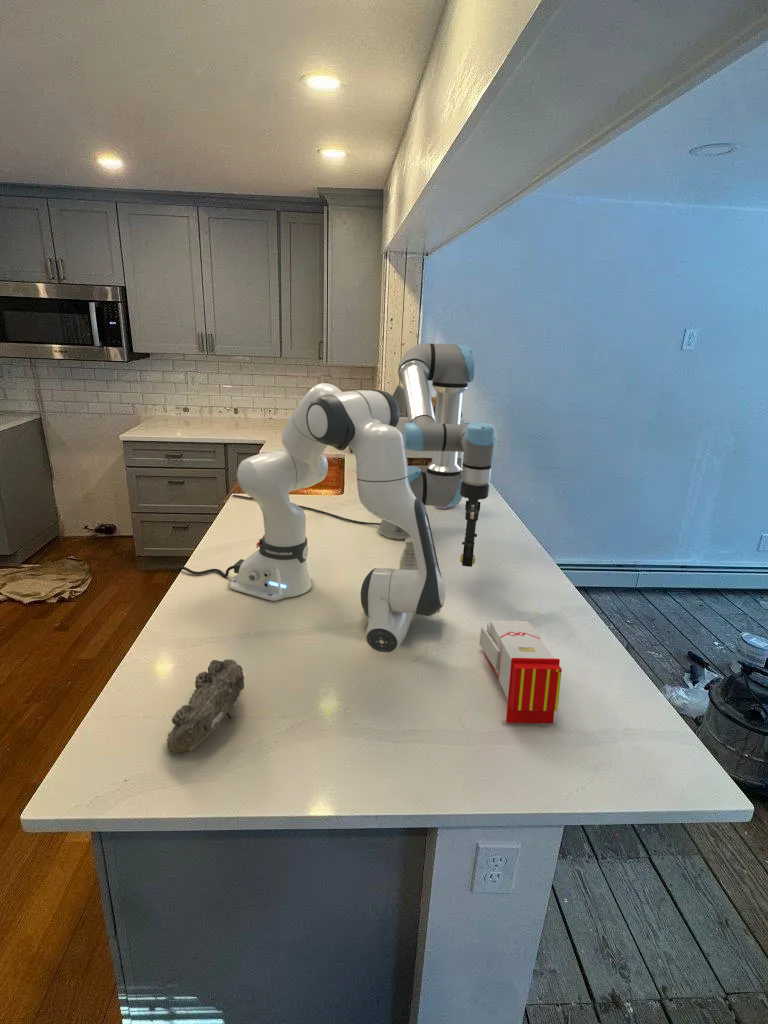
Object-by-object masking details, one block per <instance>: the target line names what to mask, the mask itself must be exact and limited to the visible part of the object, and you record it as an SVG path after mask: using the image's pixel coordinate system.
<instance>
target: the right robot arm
mask: <svg viewBox="0 0 768 1024" xmlns="http://www.w3.org/2000/svg"><path fill="white" fill-rule="evenodd" d="M475 365H476V364H475V357H474V352H473V350H472V348H471V347H470V346H469V345H467V344H466V345H465V344H458V343H429V342H424V343H419V344H416V345H414V346H412V347H411V348H410V349H408V350H407V351H406V352H405V353H404V355H402V357H401V359H400V361H399V364H398V367H397V374H398V380H399V382H400V384H402V386H403V387H402V388H403V389H404V393H405V400H406V407H407V413H408V420H409V423H406V424H405V426H404V431H403V441H404V445H405V449H407V450H415V451H432V462H431V463H430V464H429V465H428V466H426V471H422V469H421V468H420V466H408V480H409V485H410V488H411V490H412V492H413V494H414V495H415V497H416V498H417V499H419V500H420V501H422V502H423V504H424V506H430V507H431V506H435V507H436V506H452V505H454V506H457V505H459V504H460V503H461V501H462V499H463V498H464V499H468V500H465V507H464V509H465V510H464V511H465V517H464V519H465V520H466V525H465V533H464V535H465V537H464V541H461V545H463V550H462V551H463V552H462V554H463V561H462V563H461V566H462V567H469V568H472V567H473V565H472V561H473V555H474V550H475V539H476V538H478V534H477V533H476V528H477V522H478V520H479V514H480V511H481V501H479V500H485V499H487V498H488V497H489V491H490V484H489V483H490V482H491V475H492V462H493V455H494V444H495V440H496V436H495V434H496V432H495V431H496V428H495V426H494V425H493V424H491V423H487V422H476V421H475V422H470V421H464V422H463V423H461V424H460V417H461V412H462V403H463V393H464V391H466V390H467V389H468V388H469V383H471V382H473V381H474V379H475V373H476V366H475ZM429 381H430V382H432V385H431V387H432V388H433V389H434V390H435V391H436V393H435V394H436V395H435V397H436V407H435V416H434V411H433V406H432V401H431V397H432V396H431V392H430V387H429ZM461 418H462V417H461ZM458 452H462V453H463V456H462V467H461V468H460V467H459V466H458V465H457V454H458ZM232 497H233V498H234V497H235V498H241V499H245V500H254V499H253V498H252V497H250V496H244V495H238V494H232ZM254 501H255V500H254ZM297 505H298V506H300V507H301V508H302V509H305V510H310V511H312V512H317V513H321V514H324V515H328V516H331V517H334V518H336V519H340V520H343V521H347V522H352V523H355V524H361V525H367V526H368V525H371V526H378V533H379V534H380V535H381V536H382V537H385V538H387V539H389V540H395V541H405V540H406V539H407V538H411V536H410V535H409V534H408V533H407V532H406V531H405V530H404V529H402V528H400V527H399V526H397V525H395V524H393V523H390V522H388V521H385V520H382V519H381V522H367V521H359V520H356V519H350V518H347V517H342V516H339V515H337V514H334V513H331V512H328V511H327V512H326V511H324V510H319V509H317V508H313V507H308V506H303V505H299V504H297Z"/></svg>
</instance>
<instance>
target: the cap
mask: <svg viewBox="0 0 768 1024" xmlns="http://www.w3.org/2000/svg"><path fill="white" fill-rule="evenodd" d="M462 561H463V553H461V554H460V558H459V562H460V564H462ZM475 563H476V556H475V555H474V554H473V561H472V566H473V565H474V564H475Z"/></svg>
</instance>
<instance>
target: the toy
mask: <svg viewBox="0 0 768 1024" xmlns="http://www.w3.org/2000/svg"><path fill="white" fill-rule="evenodd" d="M478 642H479V643H478V644H479V646H480V647H481V650H482V651H483V654H484V655H485V657H486V659H487V661H488V663H489V664H490V666H491V669H492V670H493V672H494V674H495V676H496V678H497V679H498V682H499V684H500V687H501V688H502V691H503V693H504V695H505V697H506V699H507V706H506V717H505V722H506V724H547V725H549V724H551V725H553V724H554V718H555V712H558V711H559V710H558V709H559V698H560V689H561V682H562V681H561V680H562V672H563V671H562V667H561V666H560V663H561V659H560V658H554V656H553V654H552V653H551V651H550V650H549V649H548V647H547V646H546V644H545V643H544V642H543V640H542V638H540V636H539V635H538V633H537V631H536V630H535V627H534V626H532V625H531V623H530V622H529V620H528V621H527V620H526V621H525V620H524V621H523V620H490V621H489V622H487V623H486V628H485V626H480V634H479V641H478Z"/></svg>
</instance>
